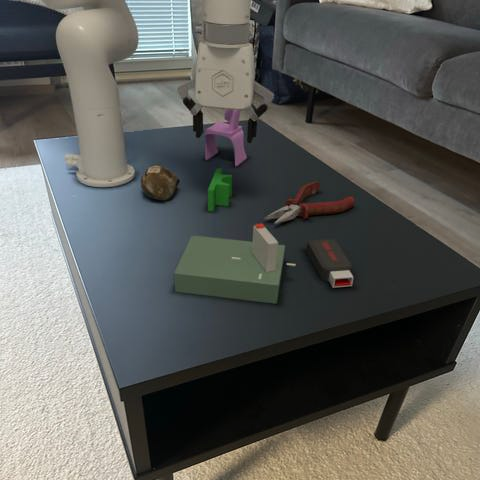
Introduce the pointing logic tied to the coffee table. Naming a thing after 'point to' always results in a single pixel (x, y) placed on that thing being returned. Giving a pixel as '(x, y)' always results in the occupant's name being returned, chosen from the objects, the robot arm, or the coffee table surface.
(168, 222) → the coffee table surface
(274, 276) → the green rectangular block
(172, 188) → the brown rock
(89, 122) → the robot arm
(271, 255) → the square jaw plate
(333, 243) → the usb drive
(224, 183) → the pipe clamp
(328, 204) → the pliers
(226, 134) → the toy chair
